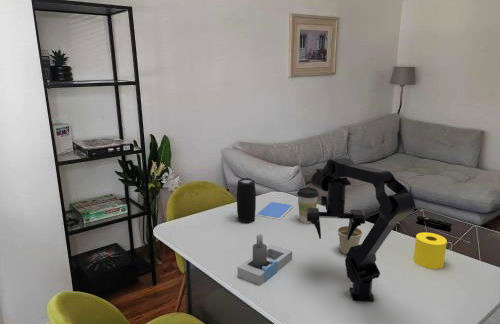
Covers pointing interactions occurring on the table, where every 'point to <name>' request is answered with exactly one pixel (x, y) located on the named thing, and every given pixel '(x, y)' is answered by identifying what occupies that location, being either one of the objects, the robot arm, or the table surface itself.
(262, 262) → the plug
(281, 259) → the cinder block
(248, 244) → the table surface
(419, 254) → the yellow toilet paper roll
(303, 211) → the coffee cup
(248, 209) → the portable speaker
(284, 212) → the blue flat slab
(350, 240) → the flower pot
